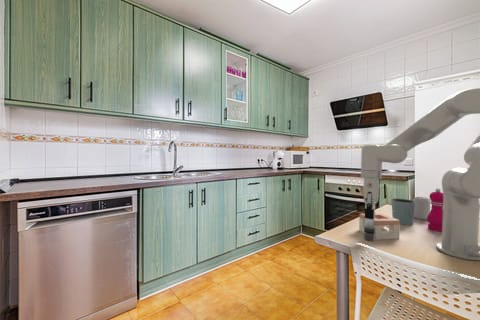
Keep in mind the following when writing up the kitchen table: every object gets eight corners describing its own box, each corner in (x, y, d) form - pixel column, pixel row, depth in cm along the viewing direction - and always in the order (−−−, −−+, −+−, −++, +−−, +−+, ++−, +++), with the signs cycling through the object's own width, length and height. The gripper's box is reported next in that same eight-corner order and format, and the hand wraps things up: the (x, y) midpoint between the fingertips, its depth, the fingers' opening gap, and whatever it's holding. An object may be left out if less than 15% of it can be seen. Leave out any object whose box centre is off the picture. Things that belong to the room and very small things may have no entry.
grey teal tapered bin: (402, 226, 110) (403, 202, 110) (385, 219, 120) (386, 198, 120) (419, 225, 112) (420, 202, 111) (401, 219, 122) (402, 197, 121)
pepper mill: (450, 232, 102) (452, 190, 101) (432, 231, 103) (434, 189, 102) (439, 227, 109) (441, 187, 108) (423, 226, 110) (424, 187, 109)
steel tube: (376, 241, 91) (377, 203, 91) (367, 241, 91) (369, 203, 90) (370, 237, 95) (371, 201, 94) (361, 238, 95) (363, 201, 94)
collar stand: (399, 238, 94) (399, 220, 94) (375, 239, 93) (376, 220, 93) (380, 229, 105) (381, 213, 105) (359, 230, 104) (359, 213, 104)
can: (413, 215, 129) (414, 195, 129) (430, 218, 124) (431, 197, 123) (411, 218, 124) (412, 197, 123) (428, 221, 118) (429, 199, 118)
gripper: (380, 177, 83) (379, 223, 83) (382, 173, 97) (380, 213, 98) (358, 175, 87) (357, 220, 88) (362, 172, 101) (361, 210, 102)
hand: (369, 216), depth 93 cm, fingers open, 5 cm apart
